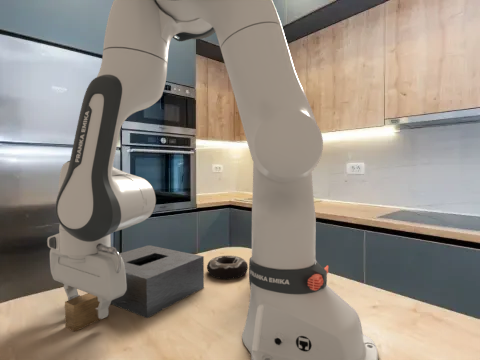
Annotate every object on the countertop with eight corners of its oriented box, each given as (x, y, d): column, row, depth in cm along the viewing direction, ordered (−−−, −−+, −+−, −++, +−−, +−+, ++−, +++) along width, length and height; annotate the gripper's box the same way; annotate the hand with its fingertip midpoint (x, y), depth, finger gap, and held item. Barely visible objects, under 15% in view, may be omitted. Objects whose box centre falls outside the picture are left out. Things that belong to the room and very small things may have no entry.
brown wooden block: (108, 316, 61) (108, 292, 61) (74, 332, 55) (73, 305, 55) (99, 312, 63) (99, 289, 63) (65, 327, 57) (64, 301, 57)
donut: (236, 284, 78) (236, 269, 78) (199, 276, 84) (198, 262, 83) (254, 270, 89) (254, 257, 89) (219, 264, 94) (219, 252, 94)
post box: (203, 287, 76) (203, 256, 75) (147, 318, 60) (146, 278, 60) (149, 272, 86) (148, 245, 86) (89, 295, 71) (88, 262, 71)
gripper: (134, 244, 56) (135, 317, 56) (73, 232, 66) (75, 293, 67) (103, 253, 50) (104, 333, 51) (42, 237, 61) (44, 304, 62)
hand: (87, 310), depth 59 cm, fingers open, 8 cm apart
